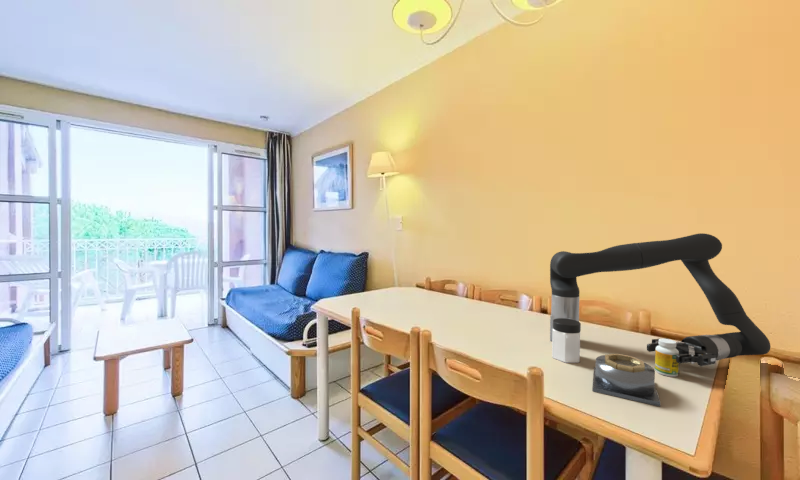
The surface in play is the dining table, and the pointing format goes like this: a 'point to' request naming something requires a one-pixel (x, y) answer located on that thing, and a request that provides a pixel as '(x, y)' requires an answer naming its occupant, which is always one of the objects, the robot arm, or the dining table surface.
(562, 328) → the jar
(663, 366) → the supplement bottle
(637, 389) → the gold-rimmed grey pod
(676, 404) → the dining table surface
